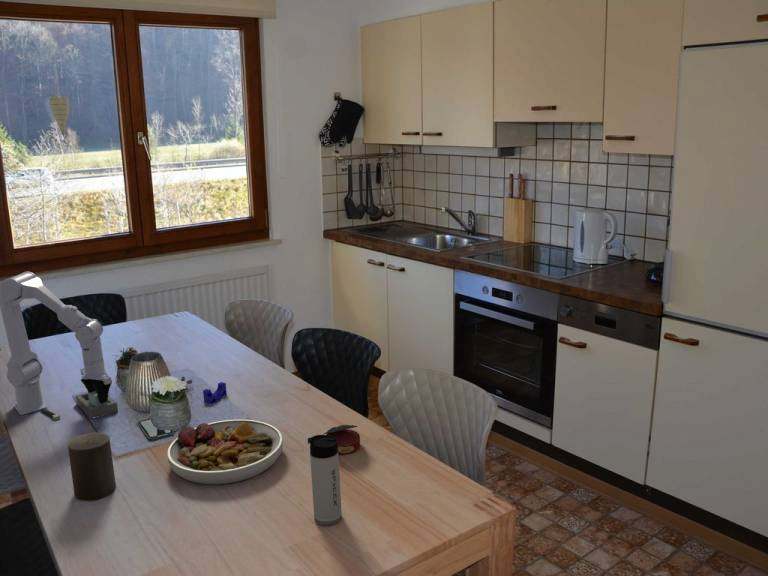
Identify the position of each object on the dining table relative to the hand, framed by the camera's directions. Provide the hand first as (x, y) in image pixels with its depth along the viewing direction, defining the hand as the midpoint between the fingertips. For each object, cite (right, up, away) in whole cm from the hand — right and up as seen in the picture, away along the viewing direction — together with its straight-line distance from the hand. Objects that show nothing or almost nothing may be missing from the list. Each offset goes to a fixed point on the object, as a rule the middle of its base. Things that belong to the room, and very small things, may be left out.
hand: (99, 400), depth 225 cm
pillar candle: (+17, -16, -46) cm, 51 cm away
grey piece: (-2, -3, +4) cm, 5 cm away
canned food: (+77, -9, -27) cm, 83 cm away
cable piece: (-16, -4, 0) cm, 16 cm away
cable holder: (+35, -1, +8) cm, 36 cm away
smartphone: (+21, -7, -12) cm, 26 cm away
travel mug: (+76, -18, -61) cm, 99 cm away
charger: (0, -2, 0) cm, 2 cm away
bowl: (+47, -11, -32) cm, 58 cm away
